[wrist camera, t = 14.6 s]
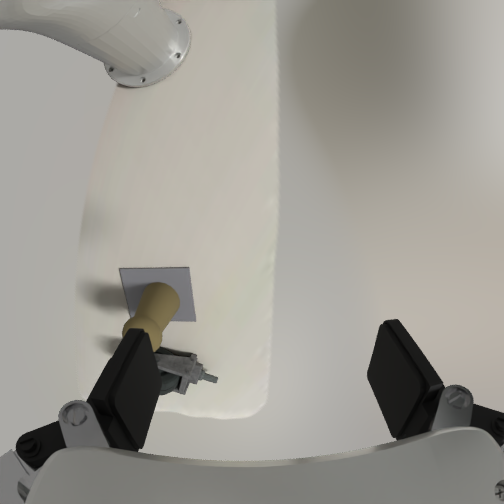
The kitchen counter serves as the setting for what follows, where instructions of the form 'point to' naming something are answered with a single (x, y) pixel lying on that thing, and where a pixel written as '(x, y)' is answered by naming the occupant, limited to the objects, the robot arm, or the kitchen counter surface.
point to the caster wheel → (179, 371)
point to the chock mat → (174, 277)
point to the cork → (154, 311)
